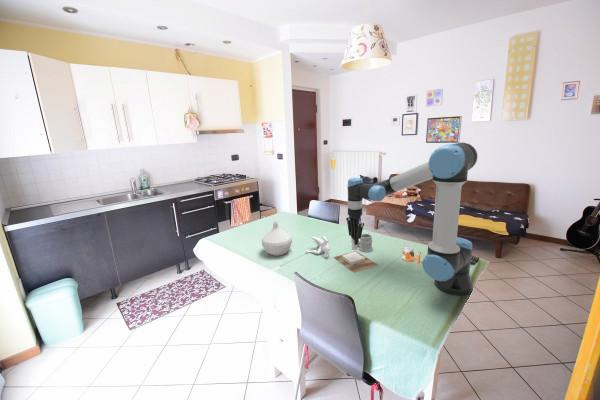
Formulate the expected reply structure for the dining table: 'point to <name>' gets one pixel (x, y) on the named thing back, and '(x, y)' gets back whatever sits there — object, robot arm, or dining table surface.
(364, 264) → the board
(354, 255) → the tile
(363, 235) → the mug
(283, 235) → the vase
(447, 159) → the robot arm
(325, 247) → the person figurine
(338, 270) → the dining table surface
